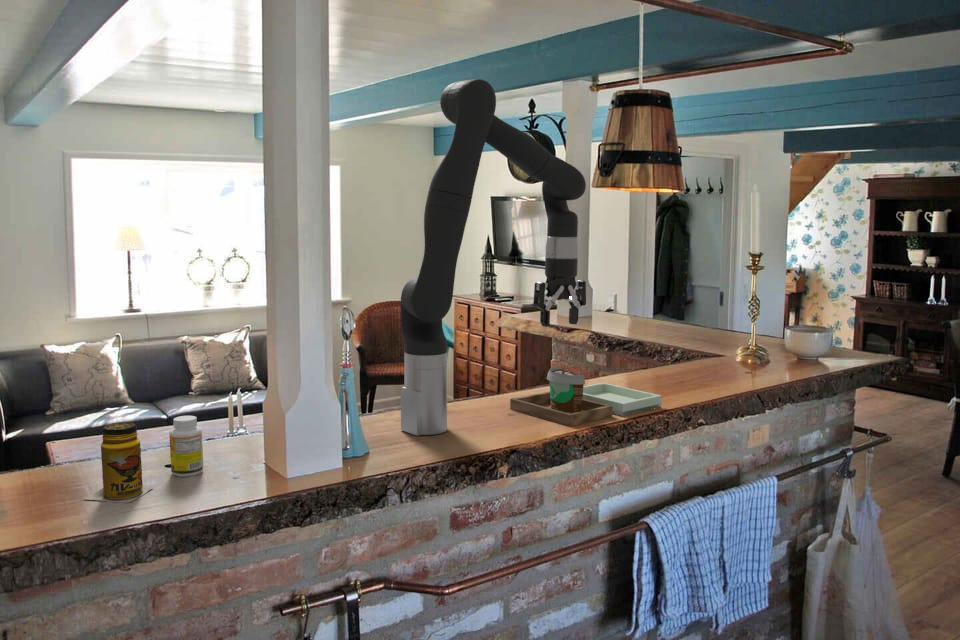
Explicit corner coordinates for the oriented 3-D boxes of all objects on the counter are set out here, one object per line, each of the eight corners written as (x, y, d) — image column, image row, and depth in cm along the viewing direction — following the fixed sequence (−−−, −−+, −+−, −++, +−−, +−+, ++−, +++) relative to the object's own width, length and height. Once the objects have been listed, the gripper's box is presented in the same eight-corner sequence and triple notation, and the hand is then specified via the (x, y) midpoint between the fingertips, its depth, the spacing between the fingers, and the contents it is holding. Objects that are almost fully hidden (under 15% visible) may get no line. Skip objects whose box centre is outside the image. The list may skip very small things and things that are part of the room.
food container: (537, 407, 201) (538, 367, 200) (560, 405, 203) (561, 365, 202) (560, 420, 190) (560, 377, 188) (584, 417, 192) (585, 375, 191)
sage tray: (622, 416, 193) (623, 403, 193) (564, 401, 208) (565, 389, 208) (661, 407, 202) (661, 395, 202) (602, 393, 217) (603, 382, 216)
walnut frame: (569, 426, 184) (569, 415, 184) (510, 409, 200) (510, 398, 199) (612, 416, 193) (612, 406, 193) (552, 400, 209) (552, 391, 208)
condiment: (130, 503, 135) (126, 431, 134) (82, 500, 137) (78, 429, 135) (154, 488, 143) (150, 420, 141) (108, 485, 144) (105, 418, 142)
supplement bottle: (177, 468, 154) (175, 414, 152) (207, 468, 154) (205, 414, 152) (166, 477, 148) (163, 421, 147) (197, 478, 148) (195, 422, 147)
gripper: (548, 257, 187) (546, 329, 189) (595, 256, 195) (592, 325, 197) (527, 255, 193) (525, 325, 195) (573, 254, 201) (571, 321, 203)
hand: (559, 325), depth 196 cm, fingers open, 8 cm apart
